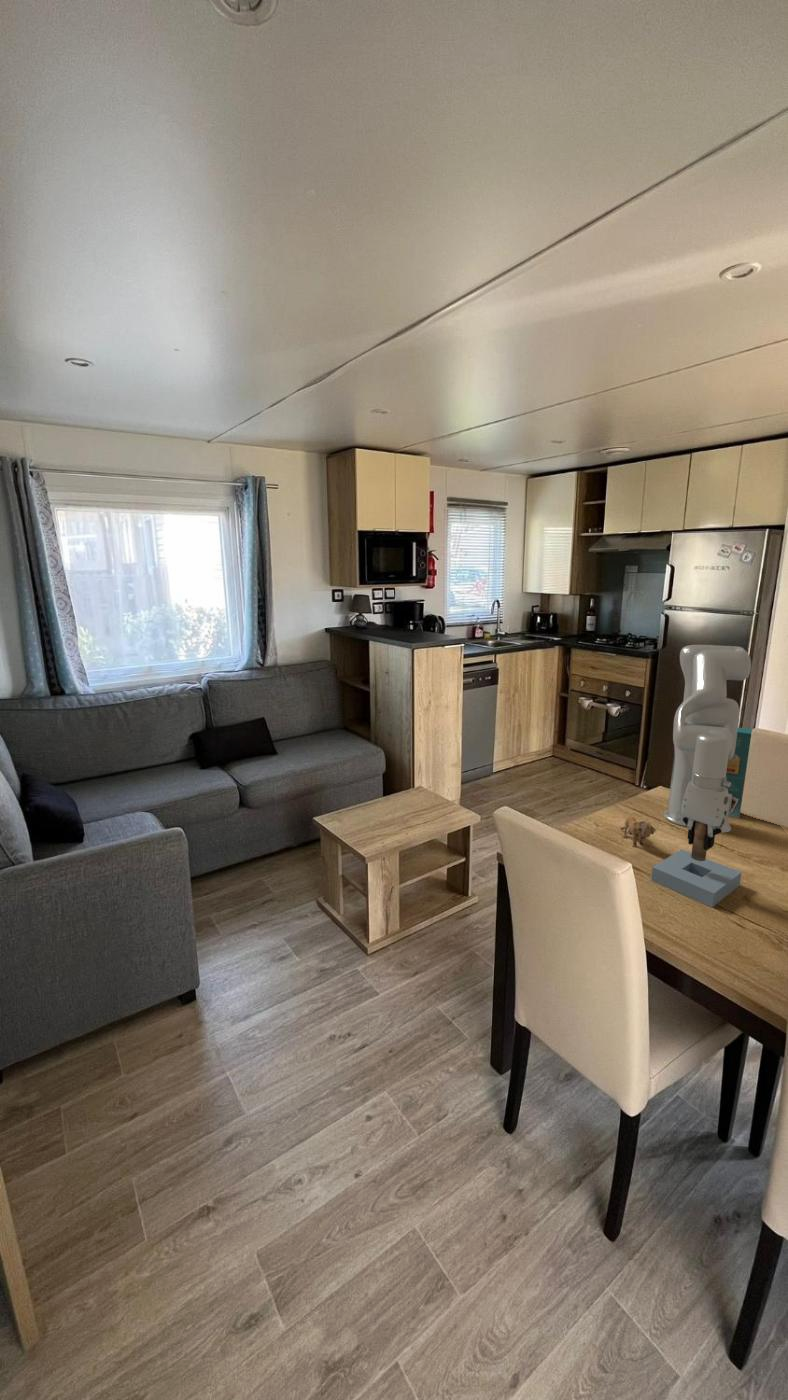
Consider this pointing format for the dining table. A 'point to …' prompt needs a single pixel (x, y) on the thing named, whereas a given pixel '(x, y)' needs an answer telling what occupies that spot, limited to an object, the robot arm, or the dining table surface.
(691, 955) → the dining table surface
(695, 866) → the socket block
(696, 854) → the peg
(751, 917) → the dining table surface
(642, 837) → the lion figurine
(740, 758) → the cake mix box
